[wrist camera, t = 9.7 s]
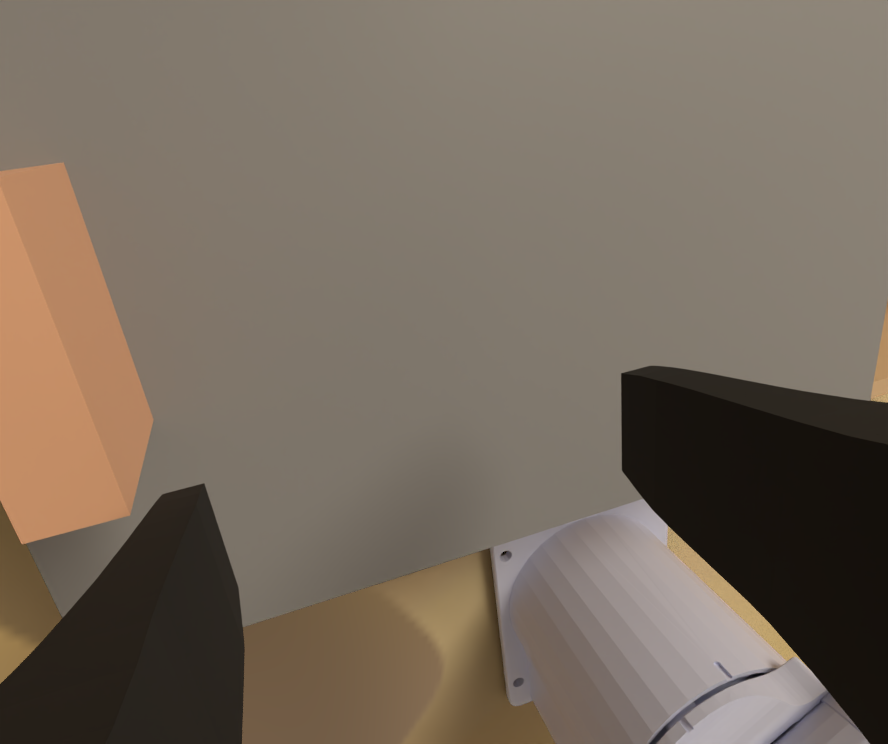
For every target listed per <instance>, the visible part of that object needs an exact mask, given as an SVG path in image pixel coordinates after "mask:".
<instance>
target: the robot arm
mask: <svg viewBox="0 0 888 744" xmlns="http://www.w3.org/2000/svg"><path fill="white" fill-rule="evenodd" d="M621 431H622V471H623V473H624V474H625V475H626V477H627V478H628V479H629V481H630V482H631V483H632V485H633V486H634V487H635V489H636V490H637V491H638V493H639V494H640V495H641V496H642V498H643V499H641V500H638V501H635V502H632V503H628V504H625V505H622V506H619V507H616V508H613V509H610V510H607V511H604V512H600V513H597V514H594V515H591V516H588V517H585V518H582V519H579V520H576V521H572V522H569V523H566V524H563V525H560V526H557V527H554V528H551V529H548V530H544V531H541V532H538V533H535V534H532V535H529V536H526V537H523V538H520V539H516V540H513V541H510V542H507V543H504V544H501V545H498V546H495V547H491V548H490V553H491V562H492V571H493V579H494V588H495V597H496V606H497V614H498V623H499V632H500V641H501V649H502V658H503V667H504V676H505V685H506V693H507V698H508V700H509V702H510V704H511V705H513V706H520V705H523V704H526V703H528V702H531V701H533V702H534V704H535V706H536V708H537V710H538V712H539V714H540V715H541V717H542V719H543V721H544V723H545V725H546V727H547V729H548V730H549V732H550V734H551V736H552V738H553V740H554V742H555V744H888V403H885V402H875V401H867V400H859V399H852V398H845V397H839V396H832V395H826V394H819V393H813V392H806V391H801V390H795V389H789V388H784V387H778V386H773V385H768V384H762V383H757V382H752V381H747V380H742V379H736V378H731V377H726V376H721V375H716V374H710V373H705V372H699V371H694V370H688V369H681V368H674V367H666V366H647V367H643V368H639V369H636V370H632V371H628V372H624V373H621ZM668 526H669V527H670V528H671V529H672V530H673V531H674V532H675V533H676V534H677V535H678V536H679V537H680V538H682V539H683V540H684V541H685V542H686V543H687V544H688V545H689V546H690V547H691V548H692V549H693V550H694V551H695V552H696V553H697V554H698V555H700V556H701V557H702V558H703V559H704V560H705V561H706V562H707V563H708V564H709V565H710V566H711V567H712V568H713V569H714V570H715V571H717V572H718V573H719V574H720V575H721V576H722V577H723V578H724V579H725V580H726V581H727V582H728V583H729V584H730V585H731V586H733V587H734V588H735V589H736V590H737V591H738V592H739V593H740V594H741V595H742V596H743V597H744V598H745V599H746V600H747V601H748V602H749V603H750V604H751V605H752V606H753V607H754V608H755V609H756V610H757V611H758V612H759V613H760V614H761V615H762V616H763V617H764V618H765V619H766V620H767V621H768V622H769V623H770V624H771V625H772V626H773V628H774V629H775V630H776V631H777V632H778V633H779V635H780V636H781V637H782V638H783V639H784V640H785V641H786V643H787V644H788V645H789V646H790V647H791V648H792V649H793V651H794V652H795V653H796V654H797V655H798V656H799V657H800V659H801V660H802V661H803V662H804V663H805V664H806V665H804V664H803V663H802V662H801V661H800V660H799V659H798V658H797V657H792V658H791V659H790V660H788V661H786V660H785V659H784V658H783V657H782V656H781V655H780V654H779V653H778V652H776V651H775V650H774V649H773V648H772V647H771V646H770V645H769V644H768V643H767V642H766V641H765V640H764V639H763V638H762V637H761V636H760V635H759V634H758V633H757V632H756V631H754V630H753V629H752V628H751V627H750V626H749V625H748V624H747V623H746V622H745V621H744V620H743V619H742V618H741V617H740V616H739V615H738V614H737V613H736V612H735V611H734V610H733V609H731V608H730V607H729V606H728V605H727V604H726V603H725V602H724V601H723V600H722V599H721V598H720V597H719V596H718V595H717V594H716V593H715V592H714V591H713V590H712V589H711V588H709V587H708V586H707V585H706V584H705V583H704V582H703V581H702V580H701V579H700V578H699V577H698V576H697V575H696V574H695V573H694V572H693V571H692V570H691V569H690V568H689V567H687V566H686V565H685V564H684V563H683V562H682V561H681V560H680V559H679V558H678V557H677V556H676V555H675V554H674V553H673V552H672V551H671V550H670V549H669V548H668V547H667V530H668ZM504 551H507V552H506V554H504V555H503V556H500V555H501V553H502V552H504ZM243 686H244V636H243V625H242V615H241V606H240V597H239V588H238V585H237V582H236V578H235V575H234V572H233V569H232V566H231V563H230V560H229V557H228V554H227V551H226V548H225V545H224V542H223V539H222V536H221V533H220V530H219V527H218V524H217V520H216V517H215V514H214V511H213V508H212V505H211V502H210V499H209V496H208V493H207V490H206V487H205V484H204V483H203V484H199V485H195V486H192V487H188V488H184V489H180V490H176V491H173V492H169V493H165V494H162V495H161V496H160V497H159V499H158V500H157V501H156V502H155V503H154V505H153V506H152V507H151V509H150V510H149V511H148V513H147V514H146V515H145V517H144V518H143V519H142V521H141V522H140V523H139V525H138V526H137V527H136V529H135V530H134V531H133V533H132V534H131V535H130V537H129V538H128V539H127V541H126V542H125V543H124V544H123V546H122V547H121V548H120V550H119V551H118V552H117V553H116V555H115V556H114V557H113V558H112V560H111V561H110V562H109V564H108V565H107V566H106V567H105V569H104V570H103V571H102V573H101V574H100V575H99V576H98V578H97V579H96V580H95V581H94V583H93V584H92V585H91V586H90V587H89V588H88V589H87V591H86V592H85V593H84V594H83V595H82V596H81V598H80V599H79V600H78V601H77V602H76V603H75V604H74V606H73V607H72V608H71V609H70V610H69V611H68V613H67V614H66V615H65V616H64V617H63V618H62V619H61V621H60V622H59V623H58V624H57V625H56V626H55V628H54V629H53V630H52V631H51V632H50V633H49V634H48V636H47V637H46V638H45V639H44V640H43V641H42V642H41V643H40V644H39V645H38V646H37V647H36V648H35V650H34V651H33V652H32V653H31V654H30V655H29V656H28V657H27V658H26V659H25V660H24V661H23V662H22V663H21V664H20V665H19V666H18V667H17V668H16V669H15V670H14V671H13V672H12V673H11V674H10V675H9V676H8V677H7V678H6V679H5V680H4V681H3V682H2V683H1V684H0V744H242V717H243Z"/></svg>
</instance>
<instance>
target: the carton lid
mask: <svg viewBox="0 0 888 744" xmlns="http://www.w3.org/2000/svg"><path fill="white" fill-rule="evenodd" d="M887 301H888V0H0V501H1V503H2V505H3V507H4V509H5V511H6V513H7V515H8V517H9V519H10V521H11V523H12V525H13V527H14V530H15V532H16V534H17V536H18V538H19V540H20V542H21V544H26V545H27V547H28V549H29V551H30V553H31V555H32V557H33V559H34V561H35V563H36V565H37V567H38V569H39V571H40V573H41V576H42V578H43V580H44V582H45V584H46V586H47V588H48V590H49V592H50V594H51V596H52V598H53V600H54V602H55V604H56V606H57V608H58V610H59V612H60V615H61V617H62V618H63V617H64V616H65V615H66V614H67V613H68V611H69V610H70V609H71V608H72V607H73V606H74V604H75V603H76V602H77V601H78V600H79V599H80V598H81V596H82V595H83V594H84V593H85V592H86V591H87V589H88V588H89V587H90V586H91V585H92V584H93V583H94V581H95V580H96V579H97V578H98V576H99V575H100V574H101V573H102V571H103V570H104V569H105V567H106V566H107V565H108V564H109V562H110V561H111V560H112V558H113V557H114V556H115V555H116V553H117V552H118V551H119V550H120V548H121V547H122V546H123V544H124V543H125V542H126V541H127V539H128V538H129V537H130V535H131V534H132V533H133V531H134V530H135V529H136V527H137V526H138V525H139V523H140V522H141V521H142V519H143V518H144V517H145V515H146V514H147V513H148V511H149V510H150V509H151V507H152V506H153V505H154V503H155V502H156V501H157V500H158V499H159V497H160V496H161V495H162V494H165V493H169V492H173V491H176V490H180V489H184V488H188V487H192V486H195V485H199V484H203V483H204V484H205V487H206V490H207V493H208V496H209V499H210V502H211V505H212V508H213V511H214V514H215V517H216V520H217V524H218V527H219V530H220V533H221V536H222V539H223V542H224V545H225V548H226V551H227V554H228V557H229V560H230V563H231V566H232V569H233V572H234V575H235V578H236V582H237V585H238V588H239V597H240V606H241V615H242V625H243V627H246V626H249V625H252V624H255V623H258V622H261V621H264V620H267V619H271V618H274V617H277V616H280V615H283V614H286V613H289V612H292V611H295V610H299V609H302V608H305V607H308V606H311V605H314V604H317V603H320V602H323V601H326V600H330V599H333V598H336V597H339V596H342V595H345V594H348V593H351V592H355V591H358V590H361V589H364V588H367V587H370V586H373V585H376V584H379V583H383V582H386V581H389V580H392V579H395V578H398V577H401V576H404V575H407V574H411V573H414V572H417V571H420V570H423V569H426V568H429V567H432V566H435V565H439V564H442V563H445V562H448V561H451V560H454V559H457V558H460V557H463V556H467V555H470V554H473V553H476V552H479V551H482V550H485V549H488V548H491V547H495V546H498V545H501V544H504V543H507V542H510V541H513V540H516V539H520V538H523V537H526V536H529V535H532V534H535V533H538V532H541V531H544V530H548V529H551V528H554V527H557V526H560V525H563V524H566V523H569V522H572V521H576V520H579V519H582V518H585V517H588V516H591V515H594V514H597V513H600V512H604V511H607V510H610V509H613V508H616V507H619V506H622V505H625V504H628V503H632V502H635V501H638V500H641V499H643V498H642V496H641V495H640V494H639V493H638V491H637V490H636V489H635V487H634V486H633V485H632V483H631V482H630V481H629V479H628V478H627V477H626V475H625V474H624V473H623V471H622V431H621V373H624V372H628V371H632V370H636V369H639V368H643V367H647V366H666V367H674V368H681V369H688V370H694V371H699V372H705V373H710V374H716V375H721V376H726V377H731V378H736V379H742V380H747V381H752V382H757V383H762V384H768V385H773V386H778V387H784V388H789V389H795V390H801V391H806V392H813V393H819V394H826V395H832V396H839V397H845V398H852V399H859V400H867V401H870V399H871V393H872V388H873V382H874V376H875V370H876V364H877V359H878V353H879V347H880V341H881V335H882V330H883V324H884V318H885V312H886V306H887Z"/></svg>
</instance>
